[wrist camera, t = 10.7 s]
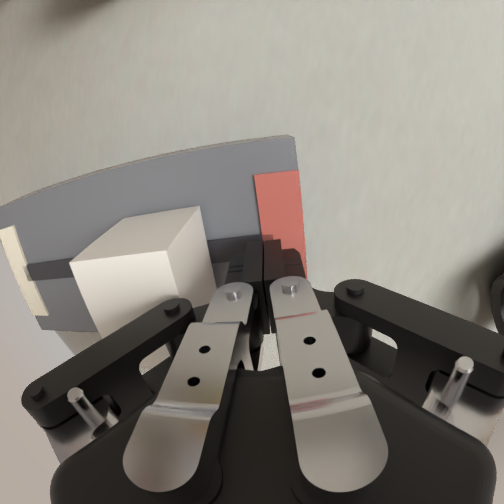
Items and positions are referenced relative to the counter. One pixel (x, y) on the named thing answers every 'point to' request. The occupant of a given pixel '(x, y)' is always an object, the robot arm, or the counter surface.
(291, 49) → the counter surface
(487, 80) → the counter surface
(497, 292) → the muzzle brake
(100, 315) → the switch knob
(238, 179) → the switch box
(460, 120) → the counter surface
